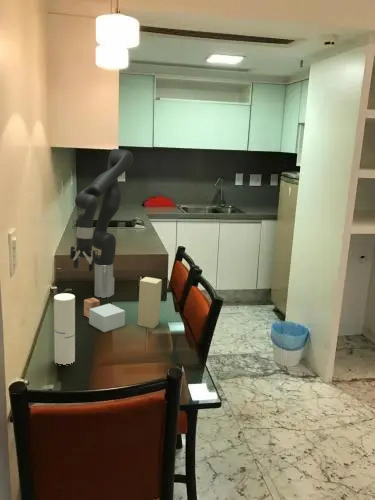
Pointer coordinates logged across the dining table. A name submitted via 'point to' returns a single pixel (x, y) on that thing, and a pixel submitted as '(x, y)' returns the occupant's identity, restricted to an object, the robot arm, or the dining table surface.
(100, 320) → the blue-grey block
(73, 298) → the cylindrical container
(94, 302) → the terracotta block
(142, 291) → the tall beige block
